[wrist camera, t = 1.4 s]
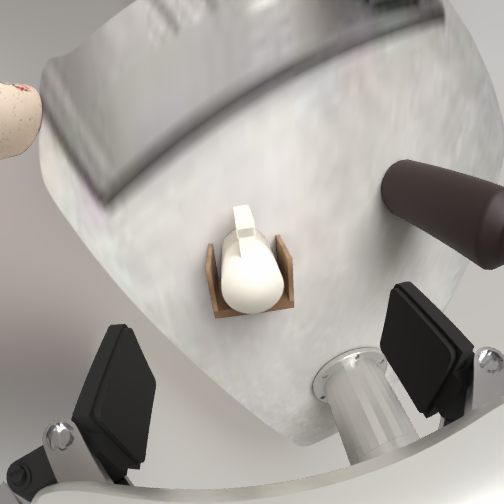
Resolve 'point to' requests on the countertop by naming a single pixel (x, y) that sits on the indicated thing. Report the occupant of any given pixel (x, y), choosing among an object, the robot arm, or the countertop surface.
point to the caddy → (216, 292)
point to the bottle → (449, 208)
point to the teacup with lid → (18, 118)
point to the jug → (249, 267)
